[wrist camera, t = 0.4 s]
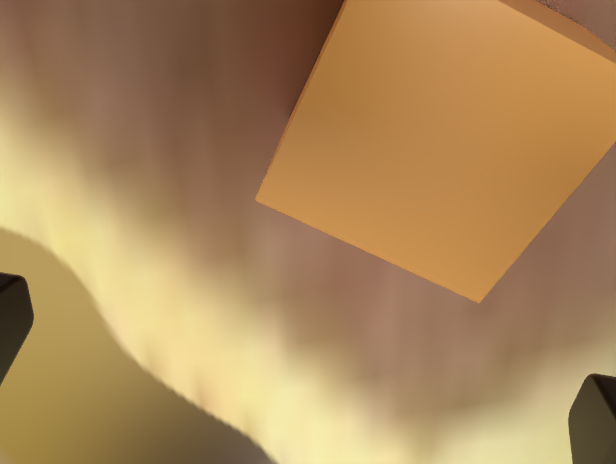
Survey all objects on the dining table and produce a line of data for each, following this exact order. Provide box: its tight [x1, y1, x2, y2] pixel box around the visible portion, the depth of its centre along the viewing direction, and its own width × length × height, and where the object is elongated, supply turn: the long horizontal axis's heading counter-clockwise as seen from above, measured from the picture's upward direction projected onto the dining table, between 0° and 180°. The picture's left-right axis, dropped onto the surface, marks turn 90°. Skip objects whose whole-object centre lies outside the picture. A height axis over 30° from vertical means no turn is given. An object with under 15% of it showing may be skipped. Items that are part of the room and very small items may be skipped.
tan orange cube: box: [255, 0, 616, 303], centre depth 16 cm, size 7×7×6 cm
